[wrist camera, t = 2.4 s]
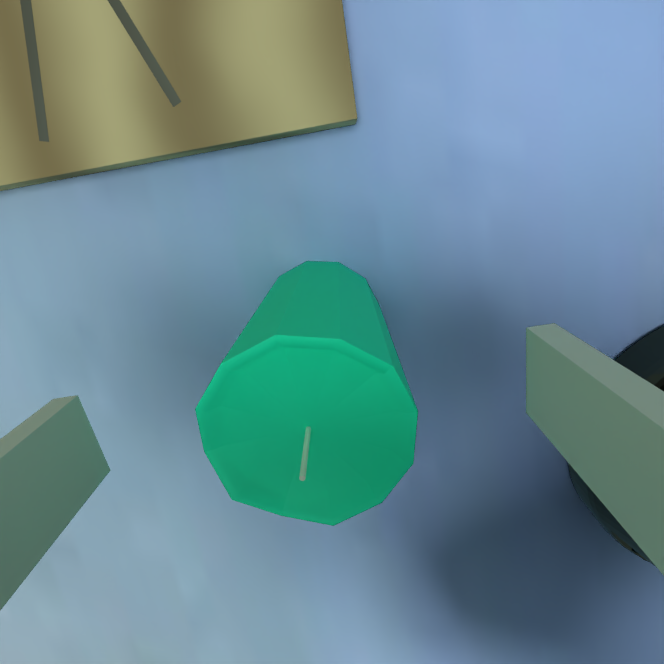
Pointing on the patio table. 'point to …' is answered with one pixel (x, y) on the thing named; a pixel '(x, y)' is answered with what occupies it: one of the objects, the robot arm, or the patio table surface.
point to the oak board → (162, 80)
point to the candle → (311, 401)
